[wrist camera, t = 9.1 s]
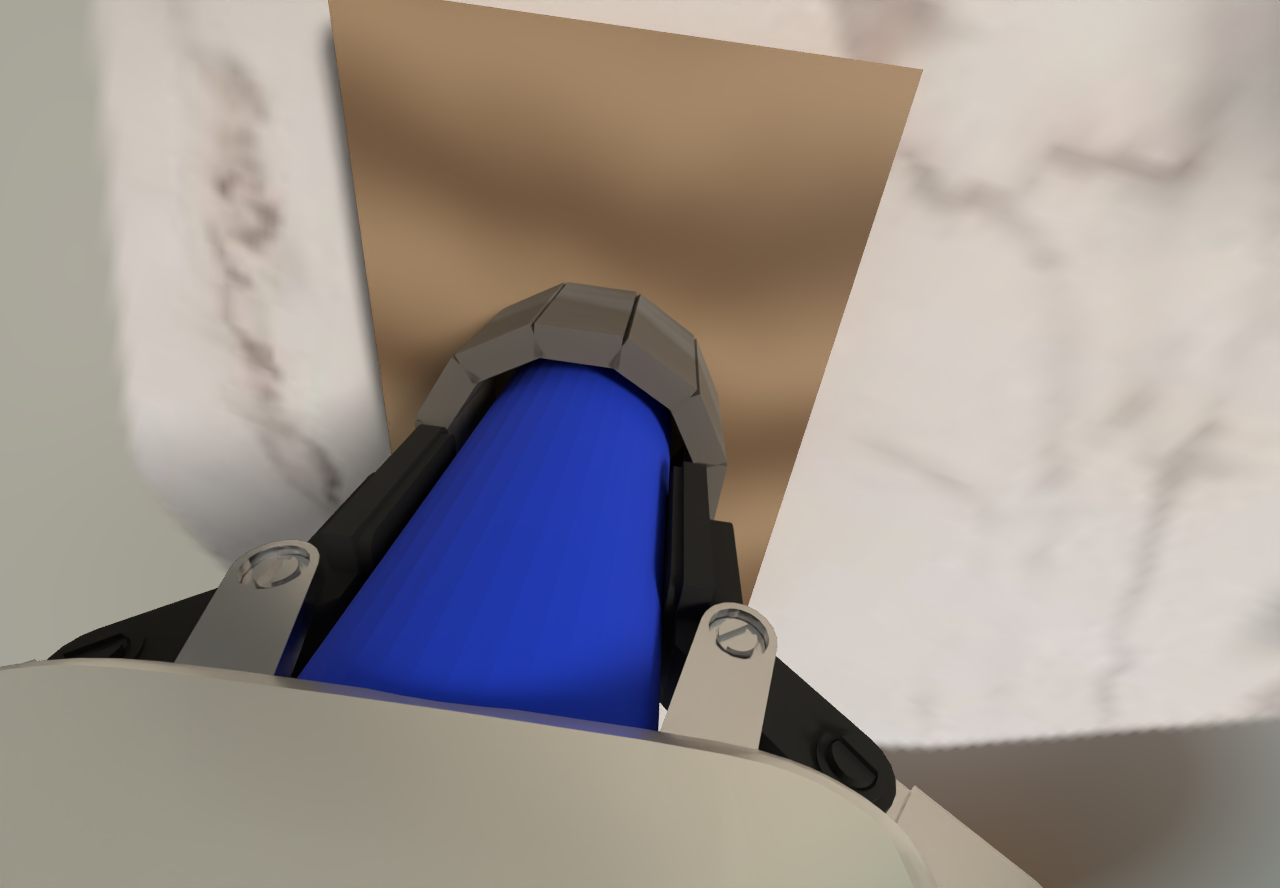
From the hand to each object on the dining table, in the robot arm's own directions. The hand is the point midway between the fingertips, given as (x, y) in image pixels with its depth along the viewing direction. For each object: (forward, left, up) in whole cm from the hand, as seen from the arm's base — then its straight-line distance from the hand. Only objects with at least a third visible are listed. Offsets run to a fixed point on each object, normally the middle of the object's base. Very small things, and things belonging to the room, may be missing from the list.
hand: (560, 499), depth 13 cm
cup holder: (0, 0, -7) cm, 7 cm away
